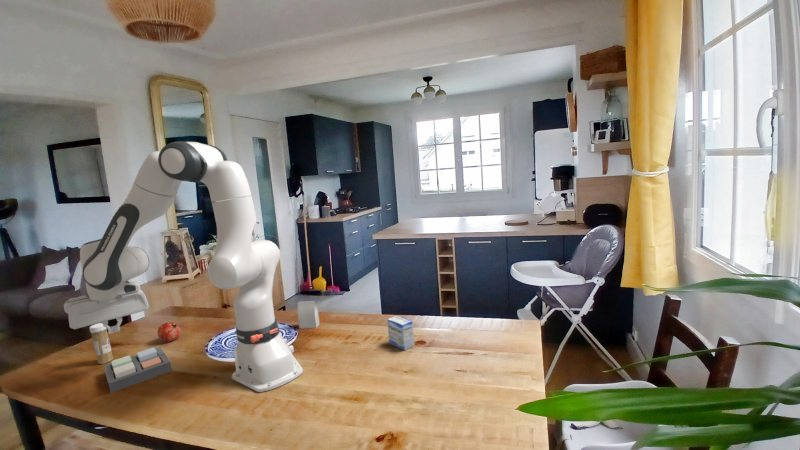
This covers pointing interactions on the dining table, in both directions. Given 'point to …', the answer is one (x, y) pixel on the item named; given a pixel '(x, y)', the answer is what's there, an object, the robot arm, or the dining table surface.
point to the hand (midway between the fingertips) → (114, 332)
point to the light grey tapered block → (308, 314)
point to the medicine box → (400, 332)
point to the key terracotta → (150, 363)
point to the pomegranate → (168, 332)
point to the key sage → (121, 361)
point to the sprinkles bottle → (101, 343)
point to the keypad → (137, 372)
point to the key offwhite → (124, 370)
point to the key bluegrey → (147, 354)
